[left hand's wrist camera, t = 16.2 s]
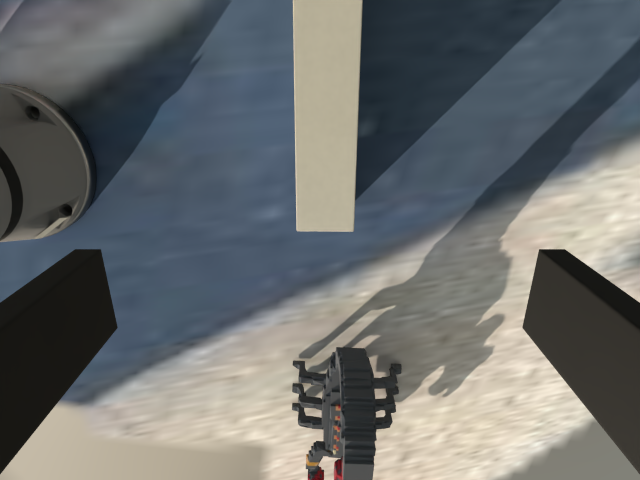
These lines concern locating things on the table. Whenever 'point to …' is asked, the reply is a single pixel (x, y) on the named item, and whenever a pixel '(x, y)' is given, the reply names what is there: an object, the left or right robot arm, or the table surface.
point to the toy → (346, 413)
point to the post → (326, 111)
